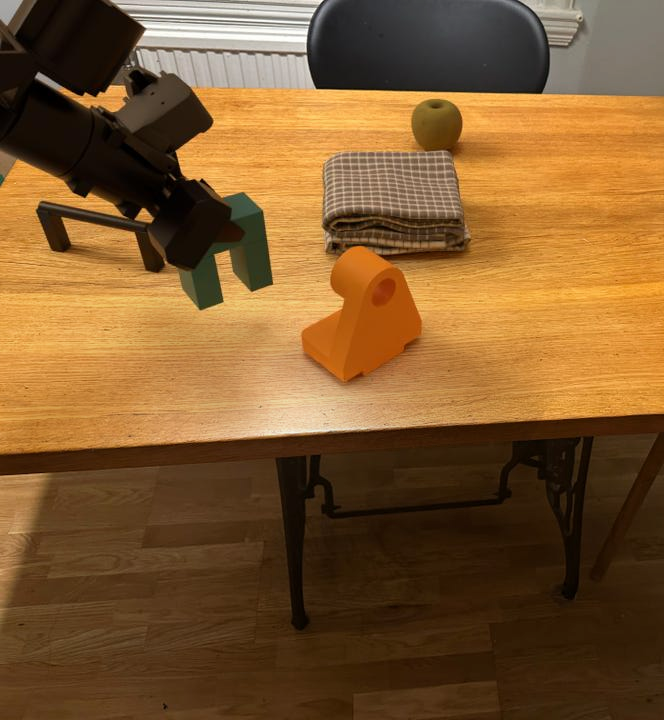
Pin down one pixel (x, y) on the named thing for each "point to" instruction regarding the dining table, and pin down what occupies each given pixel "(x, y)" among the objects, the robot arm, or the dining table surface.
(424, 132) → the apple
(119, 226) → the dark pull handle
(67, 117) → the robot arm
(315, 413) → the dining table surface
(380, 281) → the bracket
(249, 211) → the dark green block
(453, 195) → the towel
